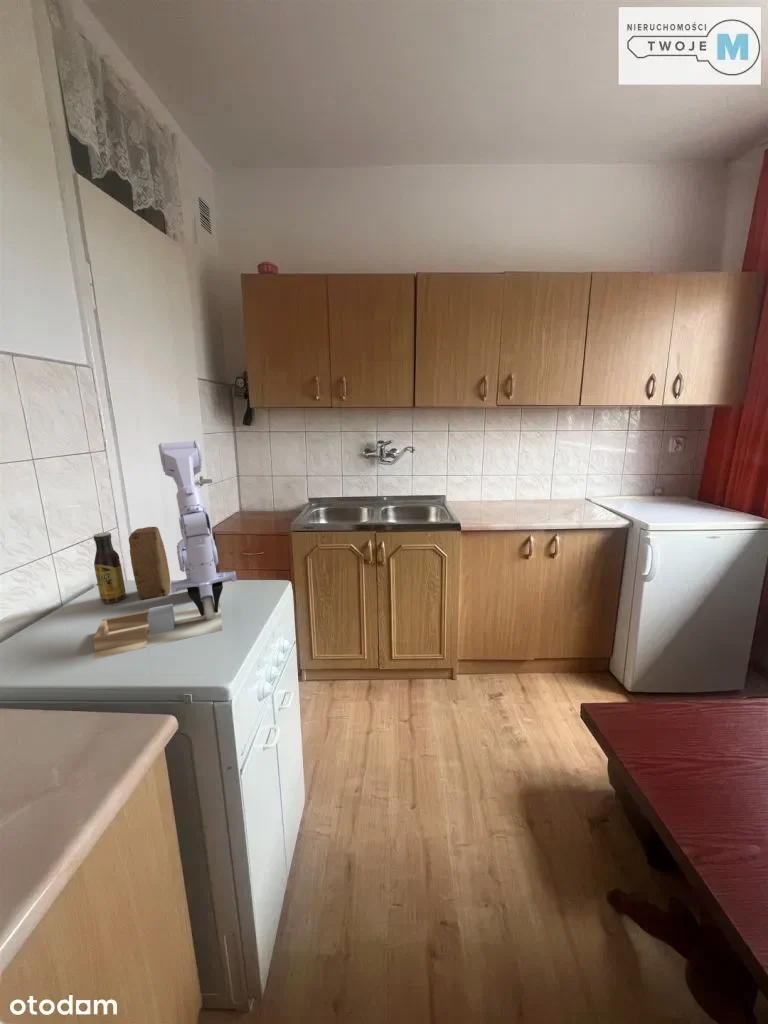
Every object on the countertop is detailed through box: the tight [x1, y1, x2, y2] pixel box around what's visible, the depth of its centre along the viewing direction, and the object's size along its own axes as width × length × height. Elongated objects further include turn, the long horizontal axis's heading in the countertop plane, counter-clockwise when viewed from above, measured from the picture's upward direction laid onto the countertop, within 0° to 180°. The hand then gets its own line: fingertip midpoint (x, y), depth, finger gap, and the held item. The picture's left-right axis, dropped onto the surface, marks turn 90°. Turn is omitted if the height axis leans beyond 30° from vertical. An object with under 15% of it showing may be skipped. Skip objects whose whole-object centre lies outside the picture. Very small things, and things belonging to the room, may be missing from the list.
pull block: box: [147, 595, 216, 635], centre depth 102 cm, size 5×14×6 cm, turn 112°
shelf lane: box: [92, 602, 223, 660], centre depth 101 cm, size 16×26×4 cm, turn 113°
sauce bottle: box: [93, 531, 127, 604], centre depth 119 cm, size 6×6×20 cm
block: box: [128, 526, 171, 601], centre depth 121 cm, size 11×8×20 cm
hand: (209, 612), depth 105 cm, fingers open, 3 cm apart
